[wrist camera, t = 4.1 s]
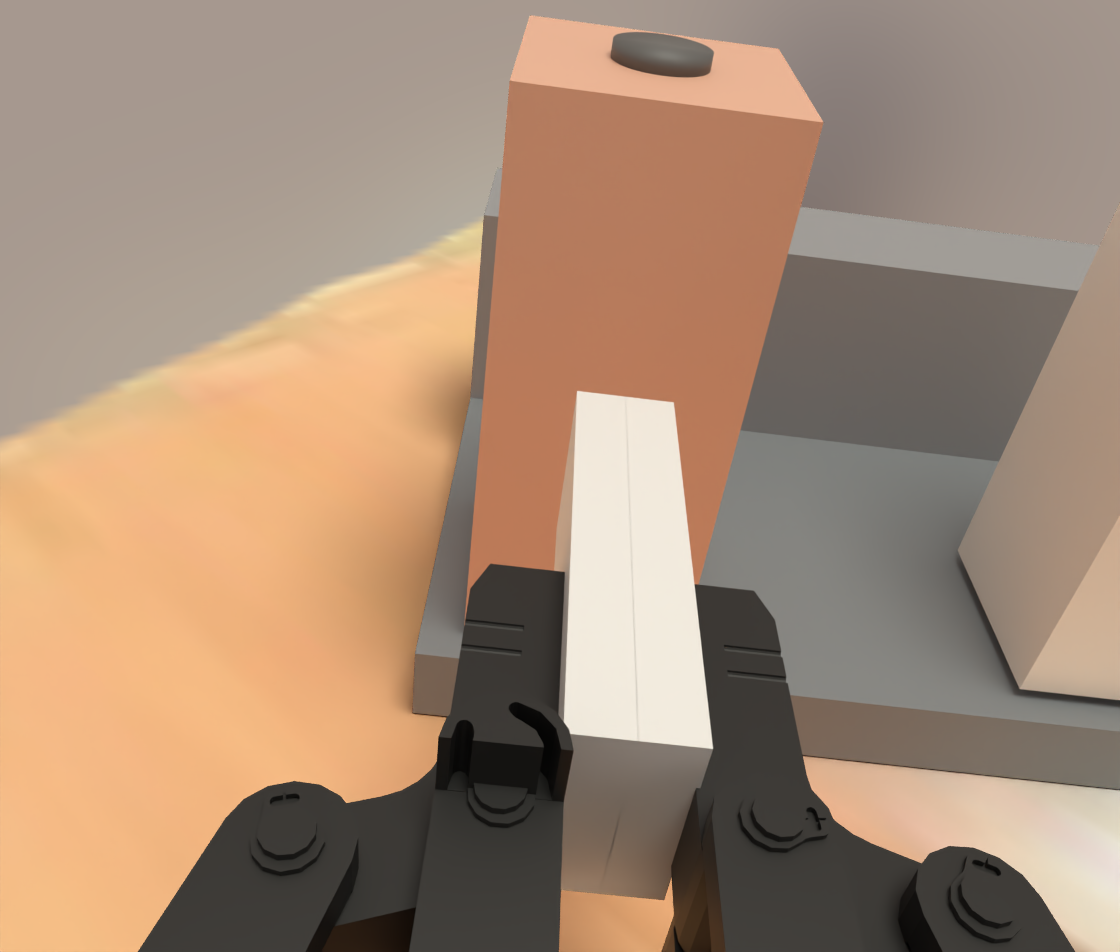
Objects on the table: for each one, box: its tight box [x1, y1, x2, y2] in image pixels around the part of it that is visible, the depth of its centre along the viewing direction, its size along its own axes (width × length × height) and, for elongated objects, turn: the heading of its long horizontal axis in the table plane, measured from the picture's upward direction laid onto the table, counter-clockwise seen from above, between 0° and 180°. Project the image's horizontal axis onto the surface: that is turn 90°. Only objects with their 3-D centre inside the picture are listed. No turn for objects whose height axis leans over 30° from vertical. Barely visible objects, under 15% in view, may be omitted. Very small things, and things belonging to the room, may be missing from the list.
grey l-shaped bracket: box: [412, 168, 1120, 789], centre depth 27 cm, size 15×20×8 cm
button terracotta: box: [464, 15, 823, 625], centre depth 21 cm, size 5×5×12 cm
